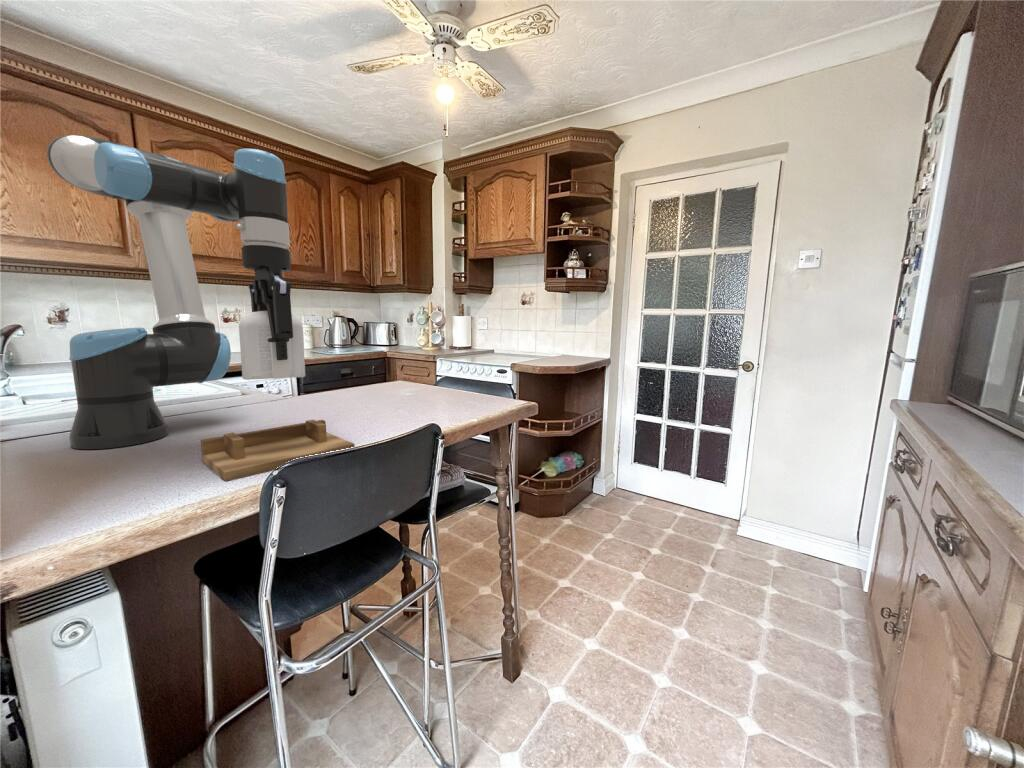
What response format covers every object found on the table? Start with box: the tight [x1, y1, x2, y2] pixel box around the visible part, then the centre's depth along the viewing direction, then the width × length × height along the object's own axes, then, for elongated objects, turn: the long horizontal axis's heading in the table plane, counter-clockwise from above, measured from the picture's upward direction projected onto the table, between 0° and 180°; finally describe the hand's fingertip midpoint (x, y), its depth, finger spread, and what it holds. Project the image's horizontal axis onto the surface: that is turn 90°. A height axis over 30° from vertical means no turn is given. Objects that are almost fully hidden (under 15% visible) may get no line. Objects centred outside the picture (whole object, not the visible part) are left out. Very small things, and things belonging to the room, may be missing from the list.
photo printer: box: [238, 311, 306, 381], centre depth 76 cm, size 10×4×12 cm, turn 125°
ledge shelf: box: [200, 419, 355, 482], centre depth 79 cm, size 14×22×5 cm, turn 138°
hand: (275, 376), depth 77 cm, fingers closed on photo printer, 5 cm apart
